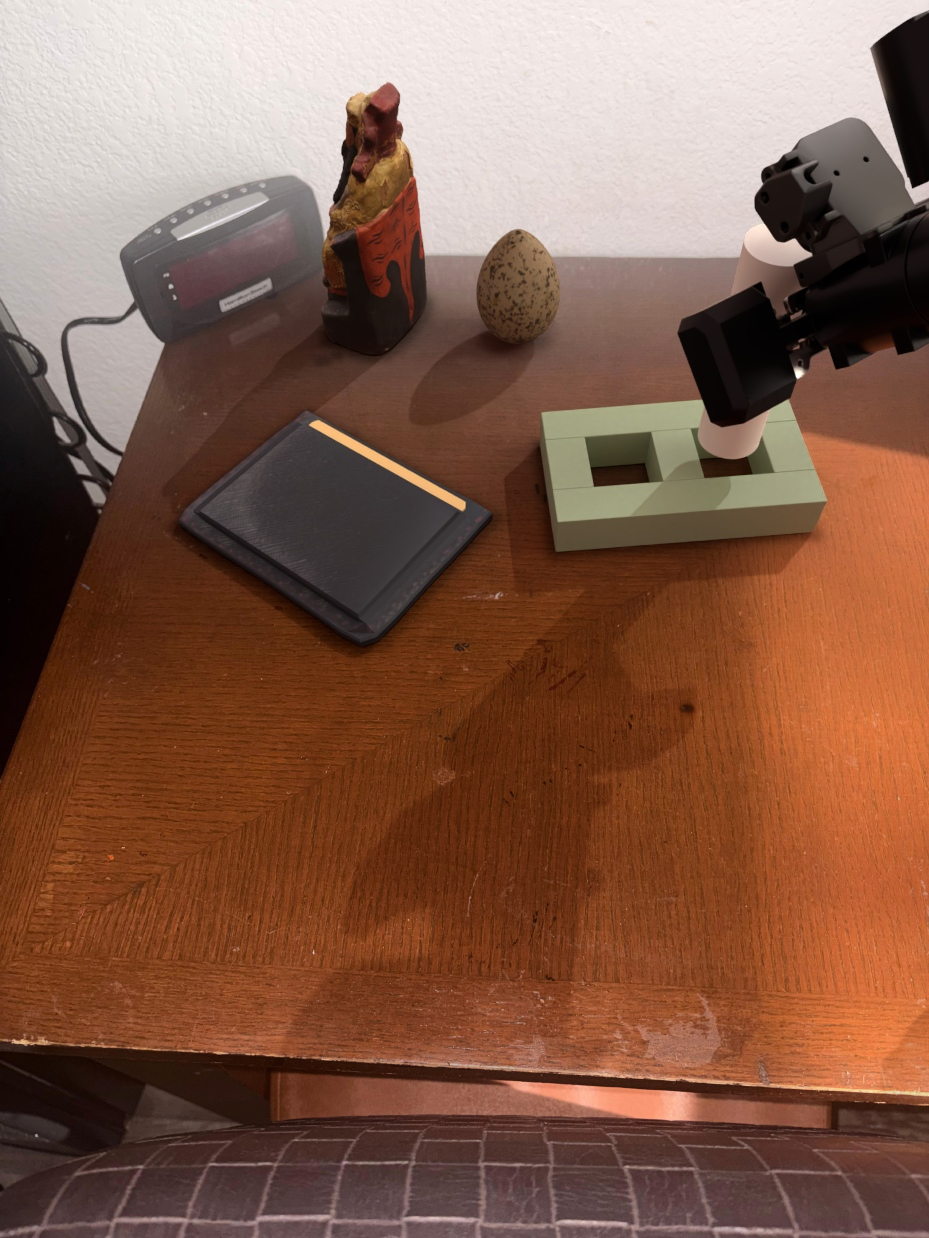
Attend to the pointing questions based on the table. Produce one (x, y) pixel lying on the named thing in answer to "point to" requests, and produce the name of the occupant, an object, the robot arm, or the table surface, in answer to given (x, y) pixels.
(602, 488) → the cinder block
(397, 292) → the statue
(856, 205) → the robot arm
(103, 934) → the table surface
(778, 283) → the tube
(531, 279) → the decorative egg
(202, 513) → the wallet
